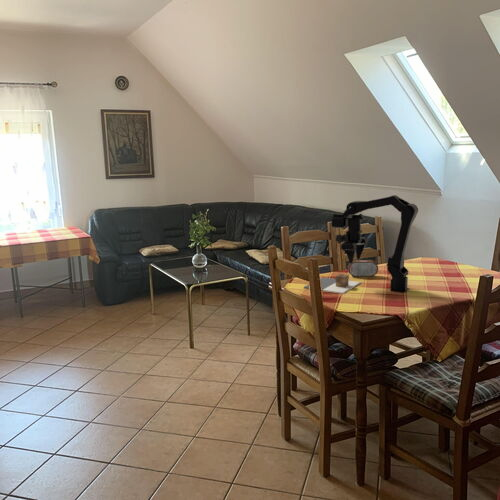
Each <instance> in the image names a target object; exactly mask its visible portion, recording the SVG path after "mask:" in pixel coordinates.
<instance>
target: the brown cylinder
mask: <svg viewBox="0 0 500 500" xmlns="http://www.w3.org/2000/svg"><path fill="white" fill-rule="evenodd" d="M349 275H350V274H345V273H343V274H341V273H338V274H337V275H335V279H336V287H344V288H345V287H346V286H348V281H350V280H349V277H350V276H349Z"/></svg>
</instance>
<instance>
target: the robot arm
mask: <svg viewBox="0 0 500 500" xmlns="http://www.w3.org/2000/svg"><path fill="white" fill-rule="evenodd" d="M386 206H392V207H394V208H395V209H396V210H397V211H398V212H400V223H401V224H400V228H399V232H398V237H397V240H396V244H395V248H394V253H393V254H391V255H390V256H388V259H387V264H386V265H385V266H386V269H387V271H388V273H389V274H390V276H391V279H390V289H389V290H390V291H391V292H398V293H406V292H407V291H408V290H409V287H408V280H409V276H408V274H409V273H410V272H409V269H408V268H406V267H405V251H406V246H407V243H408V239H409V234H410V232H411V227H412V225H413V223H414V221H415V219H416V217H417V214H418V212H419V208H418V206H417V205H416V204H414V203H411V202H409V201H407V200H404V199H403V198H400V197H399V196H398V195H396V194H395V195H393V194H392V195H390V196H386V197H381V198H380V197H379V198H377V199H372V200H355V201H354V200H353V201H351V202H348V203H347V205H346V208H345V210H344V212H343V213H333V216H332V219H331V228H333V229H346V227H347V230H346V231H345V234H337V235H336V236H335V242H337V244H339V245H340V249H341V250H342V251H343V252H345V254H346V256H347V259H348V262H349V263H352V262H353V261H354V260H355V255H356V260H361V257H362V254H363V252H364V250H365V248H366V246H367V244H368V243H369V242H368V237H363V236H362V235H361V234H362V233H363V230H362V229H361V221H362V220H364V219H365V218H366V217H365V216H364V215H363V214H362V212H363V211H367V210H371V209H377V208H380V207H386ZM359 213H360V214H359ZM357 214H358V215H357Z"/></svg>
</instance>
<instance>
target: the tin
mask: <svg viewBox="0 0 500 500" xmlns="http://www.w3.org/2000/svg"><path fill="white" fill-rule="evenodd" d="M347 272H348V274H349V275H351V276H352V277H355V278H360V277H361V278H364V277H365V278H371V277H374V276H376V275H377V274H378V272H379V266H378V264H377V262H376V261H375V260H372V259H353V262H352V263H350V262H349V263H348V265H347Z"/></svg>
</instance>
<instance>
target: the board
mask: <svg viewBox="0 0 500 500" xmlns="http://www.w3.org/2000/svg"><path fill="white" fill-rule="evenodd" d="M319 279H320V281H321V289H322V291H321V292H328V293H335V294H341V295H343V294H346V293H347V292H348V291H350V290H351V289H353V288H355V287H357V286H359V285H360V284H361V281H354V280H348V286H346V287H345V288H344V287H336V278H331V277H321V278H319ZM303 289H306V290H310V289H309V284H307V285H305V286H303Z"/></svg>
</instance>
